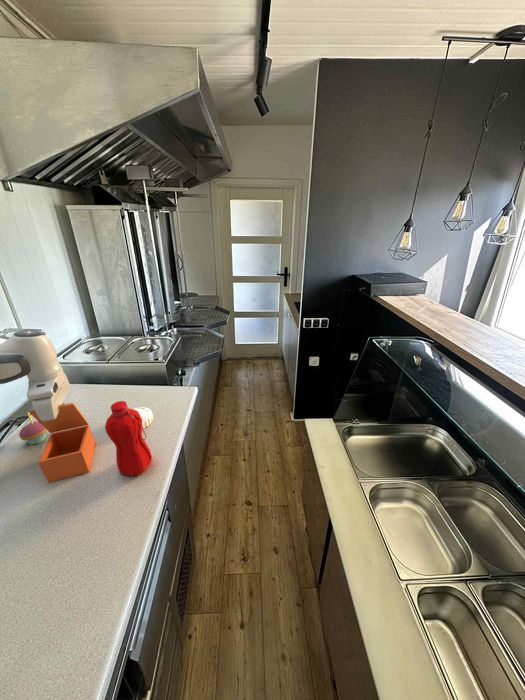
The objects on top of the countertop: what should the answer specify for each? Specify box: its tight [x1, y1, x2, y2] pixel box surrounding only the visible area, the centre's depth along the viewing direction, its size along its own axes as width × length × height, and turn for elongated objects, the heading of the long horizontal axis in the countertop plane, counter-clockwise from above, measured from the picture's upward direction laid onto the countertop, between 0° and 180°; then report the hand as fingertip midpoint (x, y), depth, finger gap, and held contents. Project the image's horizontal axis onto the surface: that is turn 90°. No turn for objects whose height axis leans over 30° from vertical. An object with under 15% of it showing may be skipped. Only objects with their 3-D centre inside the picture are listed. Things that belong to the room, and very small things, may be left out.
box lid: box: [29, 402, 90, 434], centre depth 94 cm, size 14×12×1 cm
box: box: [37, 424, 97, 483], centre depth 95 cm, size 14×12×9 cm
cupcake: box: [18, 410, 48, 445], centre depth 105 cm, size 9×8×12 cm
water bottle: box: [104, 400, 153, 477], centre depth 90 cm, size 9×11×25 cm
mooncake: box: [133, 406, 154, 430], centre depth 114 cm, size 12×12×4 cm
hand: (62, 414), depth 95 cm, fingers closed
